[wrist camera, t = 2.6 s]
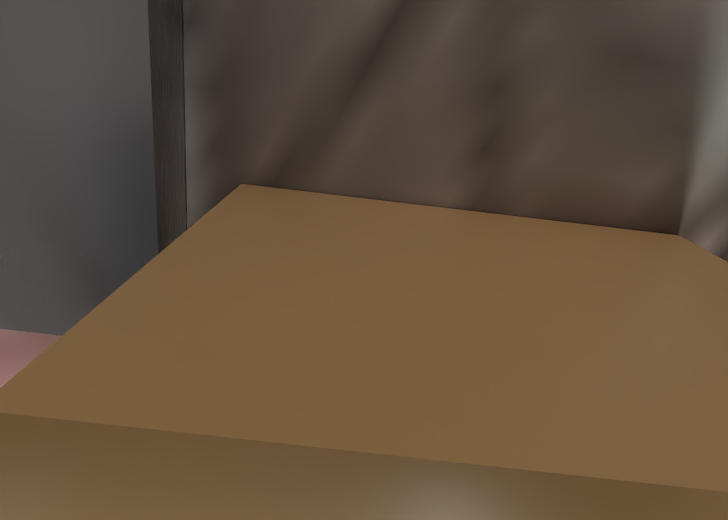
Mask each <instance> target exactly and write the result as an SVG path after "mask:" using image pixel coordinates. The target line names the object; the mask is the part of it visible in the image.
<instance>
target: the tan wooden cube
mask: <svg viewBox="0 0 728 520" xmlns="http://www.w3.org/2000/svg"><path fill="white" fill-rule="evenodd" d="M0 520H728V262H727V261H725V260H723V259H721V258H720V257H718V256H716V255H714V254H712V253H711V252H709V251H707V250H705V249H703V248H702V247H700V246H698V245H696V244H694V243H693V242H691V241H689V240H687V239H685V238H684V237H682V236H680V235H671V234H663V233H654V232H646V231H637V230H629V229H620V228H612V227H603V226H595V225H586V224H578V223H569V222H561V221H552V220H544V219H536V218H527V217H519V216H510V215H502V214H493V213H485V212H476V211H468V210H459V209H451V208H442V207H434V206H425V205H417V204H408V203H400V202H391V201H383V200H374V199H366V198H357V197H349V196H340V195H332V194H323V193H315V192H307V191H298V190H290V189H281V188H273V187H264V186H256V185H247V184H240V185H239V186H238V187H237V188H236V189H234V190H233V191H232V192H231V193H230V194H229V195H227V196H226V197H225V198H224V199H223V200H222V201H220V202H219V203H218V204H217V205H216V206H214V207H213V208H212V209H211V210H210V211H209V212H207V213H206V214H205V215H204V216H203V217H202V218H200V219H199V220H198V221H197V222H196V223H194V224H193V225H192V226H191V227H190V228H189V229H187V230H186V231H185V232H184V233H183V234H182V235H180V236H179V237H178V238H177V239H176V240H174V241H173V242H172V243H171V244H170V245H169V246H167V247H166V248H165V249H164V250H163V251H161V252H160V253H159V254H158V255H157V256H156V257H154V258H153V259H152V260H151V261H150V262H149V263H147V264H146V265H145V266H144V267H143V268H141V269H140V270H139V271H138V272H137V273H136V274H134V275H133V276H132V277H131V278H130V279H129V280H127V281H126V282H125V283H124V284H123V285H121V286H120V287H119V288H118V289H117V290H116V291H114V292H113V293H112V294H111V295H110V296H109V297H107V298H106V299H105V300H104V301H103V302H101V303H100V304H99V305H98V306H97V307H96V308H94V309H93V310H92V311H91V312H90V313H89V314H87V315H86V316H85V317H84V318H83V319H81V320H80V321H79V322H78V323H77V324H76V325H74V326H73V327H72V328H71V329H70V330H69V331H67V332H66V333H65V334H64V335H63V336H61V337H60V338H59V339H58V340H57V341H56V342H54V343H53V344H52V345H51V346H50V347H48V348H47V349H46V350H45V351H44V352H43V353H41V354H40V355H39V356H38V357H37V358H36V359H34V360H33V361H32V362H31V363H30V364H28V365H27V366H26V367H25V368H24V369H23V370H21V371H20V372H19V373H18V374H17V375H16V376H14V377H13V378H12V379H11V380H10V381H8V382H7V383H6V384H5V385H4V386H3V387H1V388H0Z"/></svg>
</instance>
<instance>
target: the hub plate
mask: <svg viewBox="0 0 728 520" xmlns="http://www.w3.org/2000/svg"><path fill="white" fill-rule="evenodd" d="M185 231H186V191H185V140H184V89H183V38H182V0H0V329H9V330H18V331H27V332H36V333H45V334H53V335H62V336H63V335H64V334H65V333H66V332H67V331H69V330H70V329H71V328H72V327H73V326H74V325H76V324H77V323H78V322H79V321H80V320H81V319H83V318H84V317H85V316H86V315H87V314H89V313H90V312H91V311H92V310H93V309H94V308H96V307H97V306H98V305H99V304H100V303H101V302H103V301H104V300H105V299H106V298H107V297H109V296H110V295H111V294H112V293H113V292H114V291H116V290H117V289H118V288H119V287H120V286H121V285H123V284H124V283H125V282H126V281H127V280H129V279H130V278H131V277H132V276H133V275H134V274H136V273H137V272H138V271H139V270H140V269H141V268H143V267H144V266H145V265H146V264H147V263H149V262H150V261H151V260H152V259H153V258H154V257H156V256H157V255H158V254H159V253H160V252H161V251H163V250H164V249H165V248H166V247H167V246H169V245H170V244H171V243H172V242H173V241H174V240H176V239H177V238H178V237H179V236H180V235H182V234H183V233H184V232H185Z"/></svg>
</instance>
